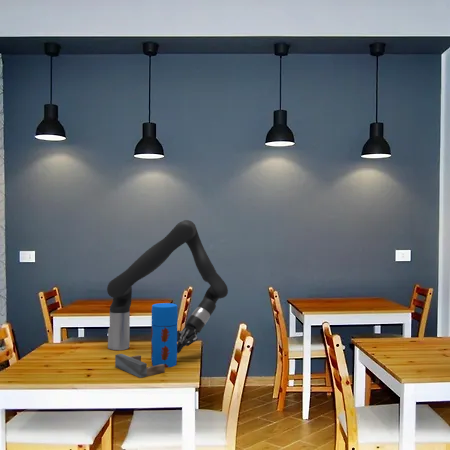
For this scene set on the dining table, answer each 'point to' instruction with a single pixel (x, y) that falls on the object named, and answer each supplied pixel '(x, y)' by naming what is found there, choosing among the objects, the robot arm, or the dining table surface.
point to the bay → (137, 366)
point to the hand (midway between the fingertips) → (176, 351)
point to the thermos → (164, 334)
